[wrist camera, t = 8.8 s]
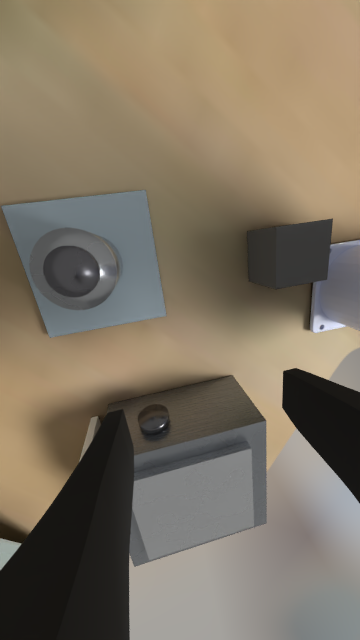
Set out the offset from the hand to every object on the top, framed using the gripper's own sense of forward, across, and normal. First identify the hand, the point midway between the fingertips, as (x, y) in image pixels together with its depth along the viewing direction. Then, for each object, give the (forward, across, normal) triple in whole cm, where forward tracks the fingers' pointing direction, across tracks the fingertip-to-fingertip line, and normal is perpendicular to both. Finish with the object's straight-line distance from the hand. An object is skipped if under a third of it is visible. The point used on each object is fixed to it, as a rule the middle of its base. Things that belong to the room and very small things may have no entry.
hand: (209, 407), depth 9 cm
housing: (+10, +1, +12) cm, 16 cm away
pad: (+10, +5, -6) cm, 13 cm away
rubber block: (+10, -9, -5) cm, 14 cm away
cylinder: (+9, +5, -6) cm, 12 cm away
